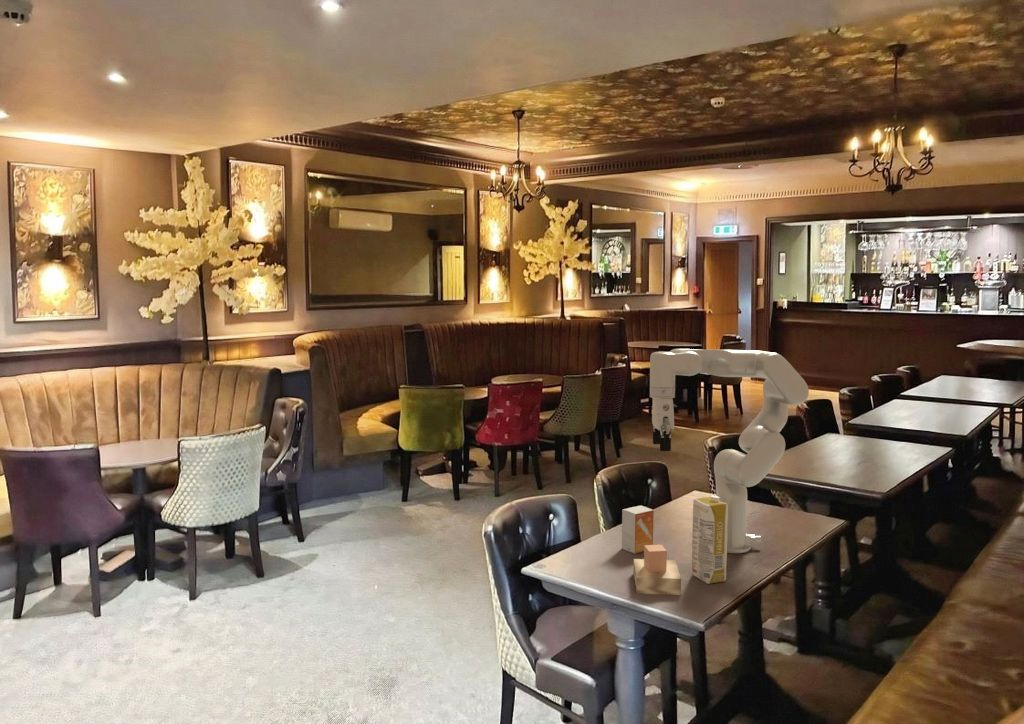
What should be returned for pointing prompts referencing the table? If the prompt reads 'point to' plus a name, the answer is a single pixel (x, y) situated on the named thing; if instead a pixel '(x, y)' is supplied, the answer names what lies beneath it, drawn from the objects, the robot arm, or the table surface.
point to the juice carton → (709, 539)
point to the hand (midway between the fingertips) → (661, 447)
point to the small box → (637, 528)
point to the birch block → (657, 579)
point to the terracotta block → (655, 558)
